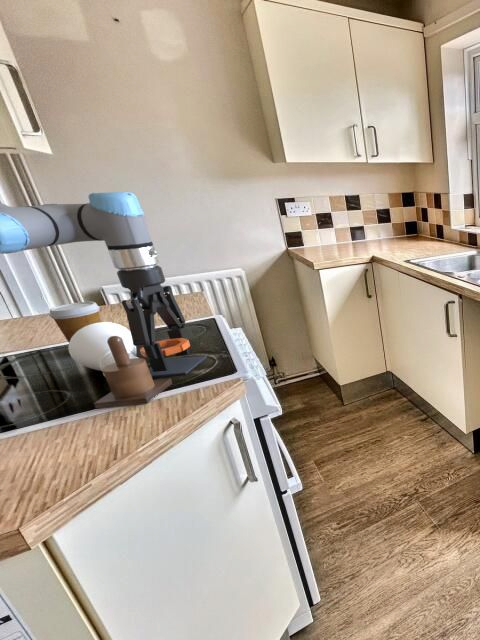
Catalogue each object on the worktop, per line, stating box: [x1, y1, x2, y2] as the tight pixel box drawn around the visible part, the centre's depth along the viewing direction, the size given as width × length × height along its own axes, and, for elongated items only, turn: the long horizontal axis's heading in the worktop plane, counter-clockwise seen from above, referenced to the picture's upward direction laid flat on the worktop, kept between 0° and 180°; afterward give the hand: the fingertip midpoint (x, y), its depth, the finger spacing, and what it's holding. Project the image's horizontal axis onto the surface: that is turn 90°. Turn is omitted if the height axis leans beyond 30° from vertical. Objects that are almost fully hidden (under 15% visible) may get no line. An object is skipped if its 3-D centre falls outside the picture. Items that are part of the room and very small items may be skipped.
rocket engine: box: [67, 321, 139, 377], centre depth 95 cm, size 12×12×18 cm
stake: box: [93, 336, 173, 410], centre depth 85 cm, size 9×9×13 cm
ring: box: [139, 337, 191, 359], centre depth 98 cm, size 9×9×1 cm
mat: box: [148, 355, 208, 379], centre depth 100 cm, size 10×10×1 cm
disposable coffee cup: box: [48, 301, 102, 343], centre depth 111 cm, size 10×10×12 cm
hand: (172, 362), depth 99 cm, fingers closed on ring, 8 cm apart
